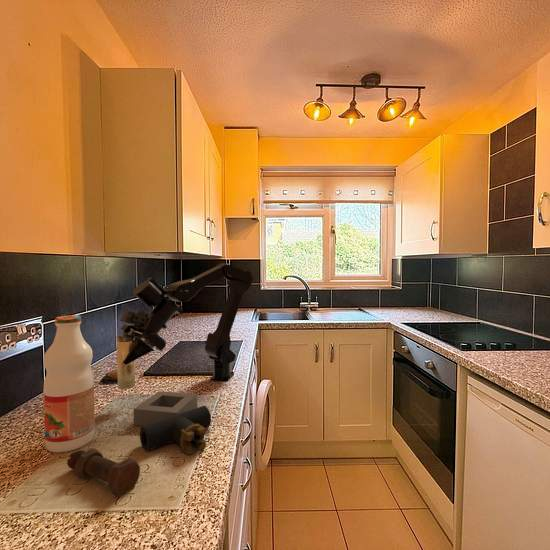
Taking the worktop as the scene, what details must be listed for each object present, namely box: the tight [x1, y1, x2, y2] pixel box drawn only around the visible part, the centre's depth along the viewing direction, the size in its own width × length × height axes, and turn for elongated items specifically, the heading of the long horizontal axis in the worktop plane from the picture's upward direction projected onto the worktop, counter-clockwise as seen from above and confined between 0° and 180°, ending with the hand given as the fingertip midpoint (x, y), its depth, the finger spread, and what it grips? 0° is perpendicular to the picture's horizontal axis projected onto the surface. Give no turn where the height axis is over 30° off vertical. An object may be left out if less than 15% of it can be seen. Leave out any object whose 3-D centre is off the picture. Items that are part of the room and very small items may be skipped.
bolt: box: [66, 448, 141, 497], centre depth 59 cm, size 6×5×15 cm
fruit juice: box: [43, 314, 96, 453], centre depth 71 cm, size 9×9×28 cm
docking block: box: [133, 390, 198, 427], centre depth 83 cm, size 11×11×4 cm
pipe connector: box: [139, 405, 212, 456], centre depth 71 cm, size 12×5×15 cm
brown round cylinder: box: [116, 334, 136, 390], centre depth 88 cm, size 4×4×14 cm
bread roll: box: [100, 368, 118, 386], centre depth 111 cm, size 11×8×4 cm
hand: (121, 361), depth 87 cm, fingers closed on brown round cylinder, 4 cm apart
